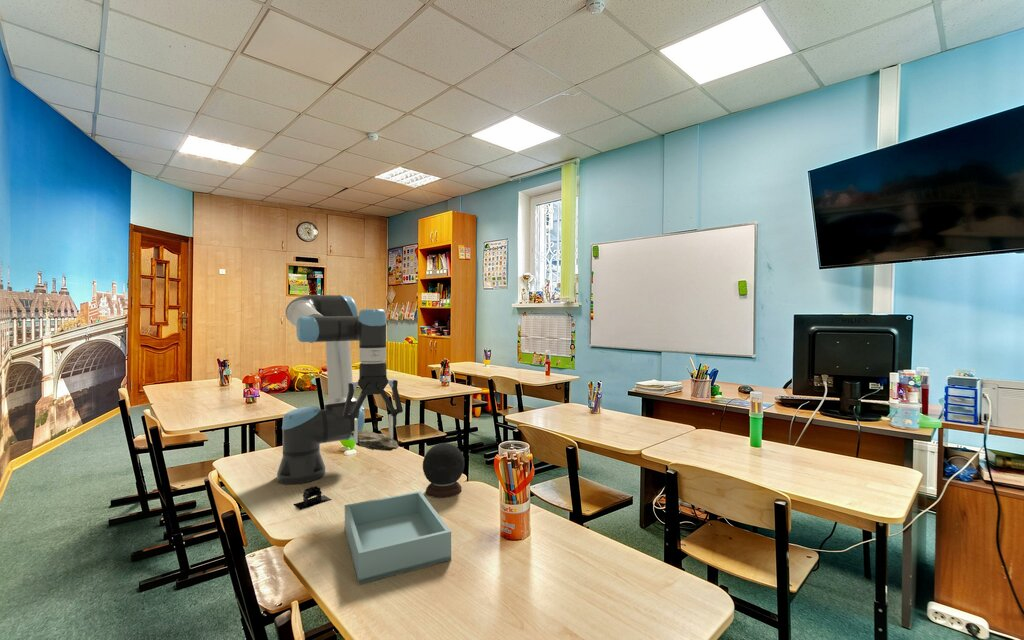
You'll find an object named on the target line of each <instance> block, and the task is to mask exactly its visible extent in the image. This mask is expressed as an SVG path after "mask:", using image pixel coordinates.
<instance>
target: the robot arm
mask: <svg viewBox="0 0 1024 640" xmlns="http://www.w3.org/2000/svg"><path fill="white" fill-rule="evenodd" d="M285 316H286V319H287V320H288V322H289V323H290V324H291V325H293V326H295V327H296V337H297V341H298V342H299V343H300V342H301V343H311V344H312V343H313V344H314V343H322V342H324V343H325V352H326V353H325V354H326V355H325V356H326V371H327V372H326V374H327V389H328V390H327V391H328V393H327V394H328V395H327V396H328V400H327V401H326V402H325V403H324V409H320V407H319V406H318V405H312V406H302V407H300V408H299V407H298V408H295V409H292V410H289V411H288V412H286V413H285V414H284V415H283V417H282V426H281V430H282V457H281V461H280V463H279V466H278V469H277V473H276V481H277V482H278V483H280V484H284V485H285V484H286V485H287V484H288V485H296V484H304V483H309V482H312V481H316V480H318V479H321V478H322V477H323V476H325V475H326V465H325V461H324V459H323V457H322V454H321V450H320V448H321V447H320V446H321V444H325V443H332V442H340V441H348V440H351V439H353V442H354V444H356V443H358V431H364V430H363V429H364V426H365V416H366V415H365V408H364V406H363V403H364V401H365V399H366V398H367V396H372V395H380V396H381V398H382V399H383V401H384V403H385V405H386V407H387V409H388V411H389V412H390V414H388V437H390V439H394V427H396V426H397V422H398V421H397V416H398V415H399V414H402V413H403V409H404V408H403V406H402V402H401V398H400V394H399V390H398V384H399V383H398V380H397V379H395V378H394V379H388V376H387V363H386V361H387V323H388V321H387V314H386V311H385V310H384V309H381V308H372V309H371V308H363V309H360V310H359V312H358V307H357V304H356V302H355V300H354V298H353V297H352V296H350V295H341V294H337V295H336V294H335V295H334V294H332V295H330V294H329V295H328V294H325V295H323V294H307V295H302V296H299V297H296V298H295V299H292V300H291V301H290V302H289V303H288V305H287V306H286V309H285ZM354 341H355V342H356V341H357V342H358V341H359V342H358V344H359V346H358V348H359V349H358V350H359V351H358V352H359V356H358V357H359V359H358V361H359V362H360V363H359V366H358V367H359V368H358V369H359V370H358V371H359V376H358V381H356V382H355V381H354V382H353V380H354V379H353V368H352V351H351V350H352V349H351V342H354ZM387 386H389V387H390V388H391V391H392V395H393V400H394V402H395V403H394V404H395V407H396V409H395V407H394V406H393V404H392V402H391V400H390V398H389V397H388V395H387V392H386V391H385V388H386V387H387ZM357 387H359V388H360V389H361V391H360V394H359V397H358V398H355V396H354V394H355V391H356V390H357ZM353 431H354V437H353V436H352V434H351V432H353Z"/></svg>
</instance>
